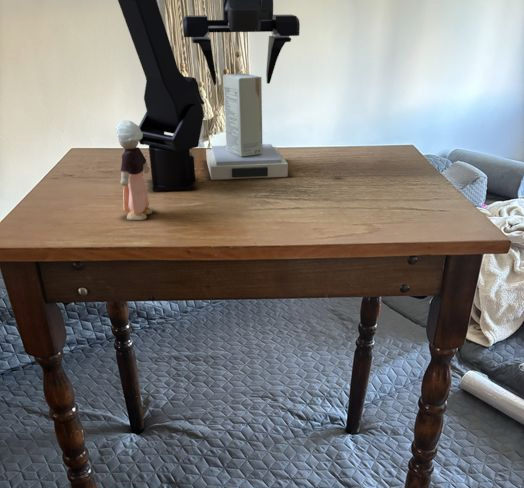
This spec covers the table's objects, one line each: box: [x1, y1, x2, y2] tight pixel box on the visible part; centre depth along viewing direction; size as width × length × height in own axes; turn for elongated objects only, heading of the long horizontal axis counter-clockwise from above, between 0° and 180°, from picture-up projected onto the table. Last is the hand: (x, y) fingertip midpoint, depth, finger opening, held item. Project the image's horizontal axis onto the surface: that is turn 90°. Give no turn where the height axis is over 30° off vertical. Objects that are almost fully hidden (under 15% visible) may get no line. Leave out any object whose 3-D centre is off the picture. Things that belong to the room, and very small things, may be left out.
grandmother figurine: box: [115, 119, 153, 221], centre depth 75 cm, size 8×4×13 cm, turn 178°
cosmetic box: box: [222, 73, 263, 157], centre depth 95 cm, size 6×4×12 cm
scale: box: [205, 143, 289, 181], centre depth 98 cm, size 13×12×3 cm
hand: (241, 83), depth 96 cm, fingers open, 9 cm apart
